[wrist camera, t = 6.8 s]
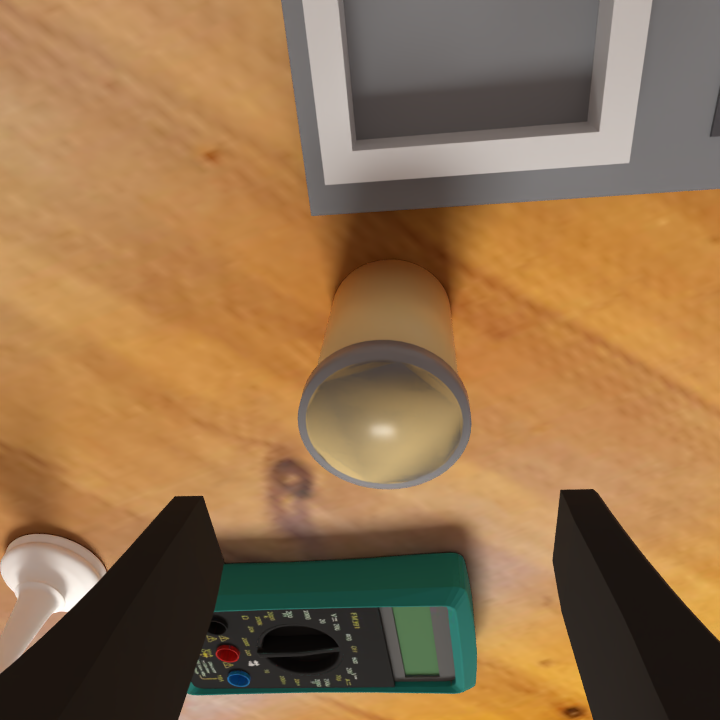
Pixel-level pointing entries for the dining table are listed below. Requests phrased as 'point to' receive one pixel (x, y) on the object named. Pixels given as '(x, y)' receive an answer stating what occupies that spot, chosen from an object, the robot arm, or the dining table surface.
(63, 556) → the chess piece
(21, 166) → the dining table surface
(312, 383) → the beige cylinder
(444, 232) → the dining table surface
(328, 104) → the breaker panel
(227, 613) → the digital multimeter
